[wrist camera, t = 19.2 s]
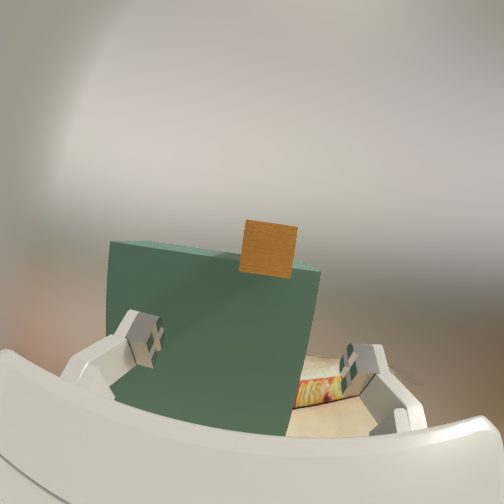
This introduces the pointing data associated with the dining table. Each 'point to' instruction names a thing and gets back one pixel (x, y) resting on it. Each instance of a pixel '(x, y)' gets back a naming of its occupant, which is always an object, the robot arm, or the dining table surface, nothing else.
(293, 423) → the dining table surface
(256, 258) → the lever bar
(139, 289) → the green box
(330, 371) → the snack package
